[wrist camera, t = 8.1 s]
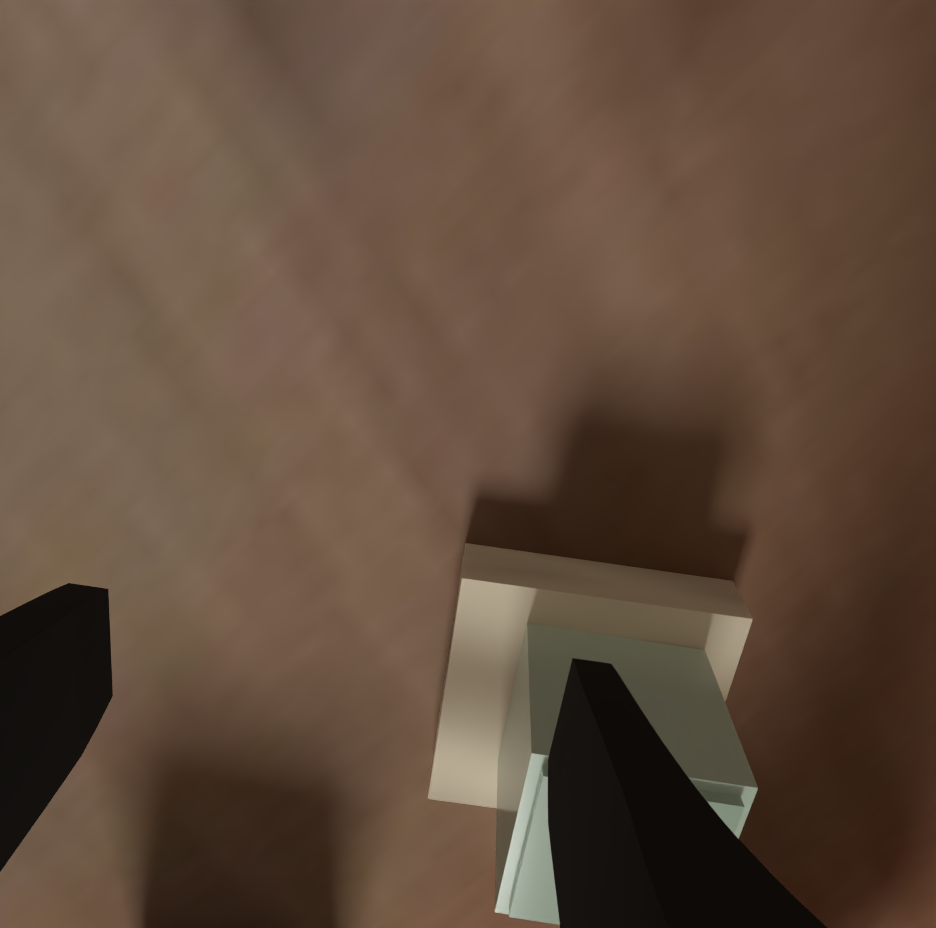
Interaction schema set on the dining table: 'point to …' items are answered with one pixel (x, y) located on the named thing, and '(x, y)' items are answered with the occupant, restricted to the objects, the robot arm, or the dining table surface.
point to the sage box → (667, 709)
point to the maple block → (566, 606)
